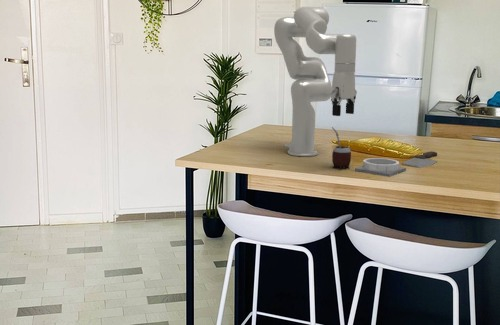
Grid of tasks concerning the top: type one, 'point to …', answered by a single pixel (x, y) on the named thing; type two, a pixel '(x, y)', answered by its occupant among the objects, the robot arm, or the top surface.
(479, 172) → the top surface
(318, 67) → the robot arm
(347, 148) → the mate gourd
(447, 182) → the top surface
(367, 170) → the housing
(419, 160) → the cleaver
